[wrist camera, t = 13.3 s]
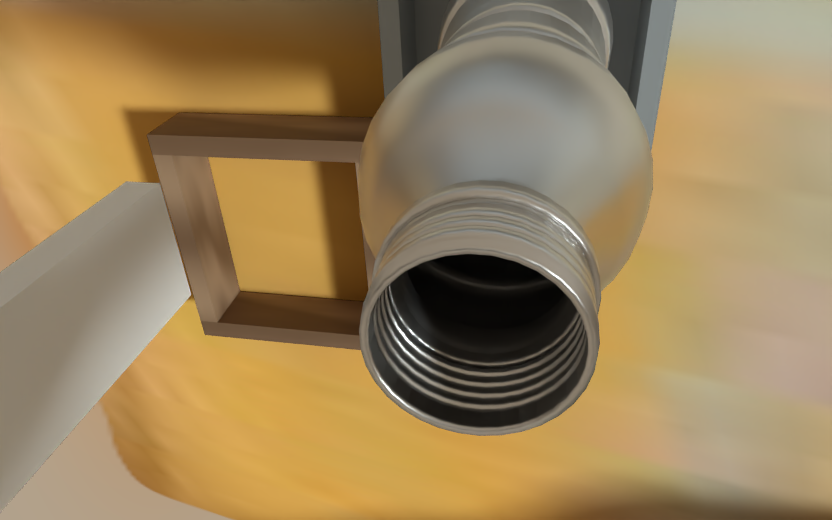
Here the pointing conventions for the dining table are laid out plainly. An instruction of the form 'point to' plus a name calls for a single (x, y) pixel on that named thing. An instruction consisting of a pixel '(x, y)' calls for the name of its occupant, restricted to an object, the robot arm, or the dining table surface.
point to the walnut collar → (205, 232)
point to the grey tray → (629, 63)
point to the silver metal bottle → (499, 214)
